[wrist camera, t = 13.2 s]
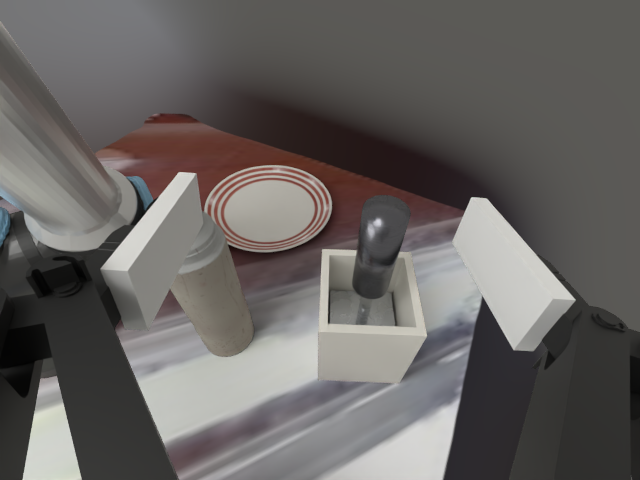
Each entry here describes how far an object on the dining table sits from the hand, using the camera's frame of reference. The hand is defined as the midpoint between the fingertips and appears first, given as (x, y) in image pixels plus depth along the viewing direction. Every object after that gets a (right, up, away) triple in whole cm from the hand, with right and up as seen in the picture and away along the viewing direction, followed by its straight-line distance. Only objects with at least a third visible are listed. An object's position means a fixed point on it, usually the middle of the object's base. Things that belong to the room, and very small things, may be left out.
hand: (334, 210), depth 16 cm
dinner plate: (-12, +5, +56) cm, 58 cm away
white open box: (+5, -18, +36) cm, 40 cm away
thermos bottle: (-15, -17, +37) cm, 43 cm away
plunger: (+5, -13, +30) cm, 34 cm away
